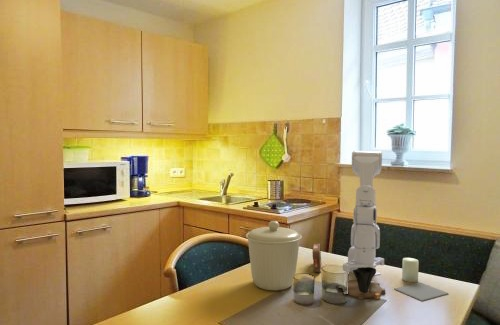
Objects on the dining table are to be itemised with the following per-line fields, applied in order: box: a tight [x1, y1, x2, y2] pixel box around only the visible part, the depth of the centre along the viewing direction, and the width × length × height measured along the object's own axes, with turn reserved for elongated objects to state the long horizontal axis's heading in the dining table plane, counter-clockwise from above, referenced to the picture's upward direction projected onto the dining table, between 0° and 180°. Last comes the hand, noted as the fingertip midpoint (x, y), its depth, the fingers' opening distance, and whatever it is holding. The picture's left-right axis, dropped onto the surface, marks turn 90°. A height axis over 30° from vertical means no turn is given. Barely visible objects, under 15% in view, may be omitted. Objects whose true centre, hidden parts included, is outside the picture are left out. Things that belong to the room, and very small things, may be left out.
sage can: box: [401, 257, 420, 283], centre depth 126 cm, size 5×5×7 cm
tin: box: [312, 243, 322, 273], centre depth 138 cm, size 15×3×8 cm, turn 168°
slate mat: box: [394, 281, 449, 302], centre depth 116 cm, size 10×12×1 cm
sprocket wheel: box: [347, 279, 386, 300], centre depth 116 cm, size 14×14×4 cm
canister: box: [245, 220, 303, 291], centre depth 121 cm, size 18×18×21 cm
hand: (363, 291), depth 111 cm, fingers closed
